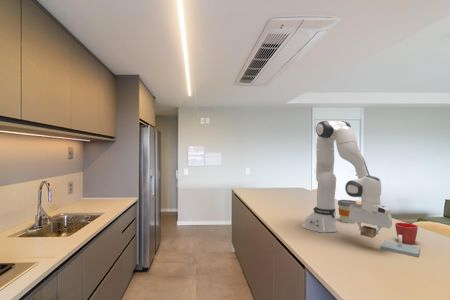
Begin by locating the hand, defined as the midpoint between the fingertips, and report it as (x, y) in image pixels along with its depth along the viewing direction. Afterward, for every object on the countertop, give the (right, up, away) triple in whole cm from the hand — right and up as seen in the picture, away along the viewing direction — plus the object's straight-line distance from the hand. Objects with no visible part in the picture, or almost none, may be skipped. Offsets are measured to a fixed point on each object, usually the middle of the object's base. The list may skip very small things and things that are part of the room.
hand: (368, 232), depth 137 cm
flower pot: (+27, -9, +9) cm, 30 cm away
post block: (+15, -8, -3) cm, 17 cm away
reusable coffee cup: (+13, -9, +52) cm, 55 cm away
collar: (0, -2, 0) cm, 2 cm away
